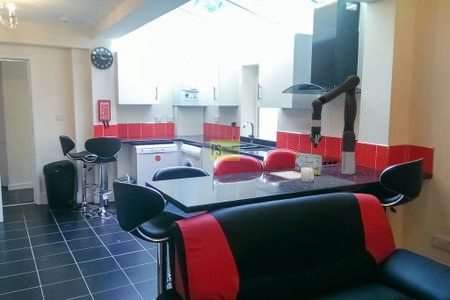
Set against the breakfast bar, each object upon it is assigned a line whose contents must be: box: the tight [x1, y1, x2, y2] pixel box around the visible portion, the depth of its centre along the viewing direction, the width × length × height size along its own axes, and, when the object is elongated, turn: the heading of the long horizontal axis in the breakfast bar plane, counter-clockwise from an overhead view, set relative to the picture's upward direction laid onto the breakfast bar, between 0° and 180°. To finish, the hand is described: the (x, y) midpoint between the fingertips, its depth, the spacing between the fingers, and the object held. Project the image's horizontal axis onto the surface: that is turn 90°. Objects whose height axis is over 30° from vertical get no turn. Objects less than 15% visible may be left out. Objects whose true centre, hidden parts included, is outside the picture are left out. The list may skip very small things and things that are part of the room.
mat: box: [268, 170, 301, 180], centre depth 279 cm, size 22×26×1 cm
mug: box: [300, 167, 315, 183], centre depth 256 cm, size 8×11×9 cm
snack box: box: [293, 152, 323, 176], centre depth 285 cm, size 21×6×15 cm, turn 43°
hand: (315, 148), depth 286 cm, fingers closed
